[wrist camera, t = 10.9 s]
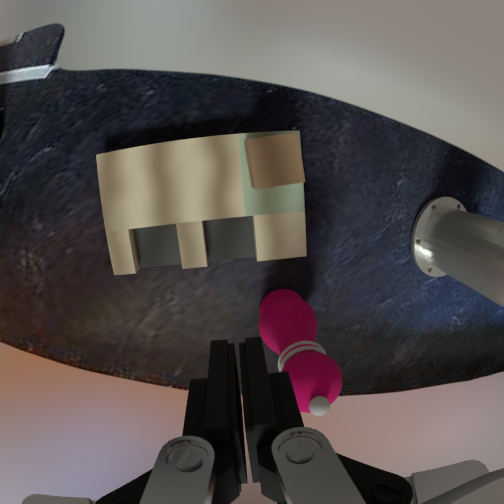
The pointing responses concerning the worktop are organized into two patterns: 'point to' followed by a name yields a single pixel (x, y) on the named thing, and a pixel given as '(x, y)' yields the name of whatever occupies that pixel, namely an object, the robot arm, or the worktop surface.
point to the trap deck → (195, 205)
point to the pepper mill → (299, 350)
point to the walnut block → (274, 161)
